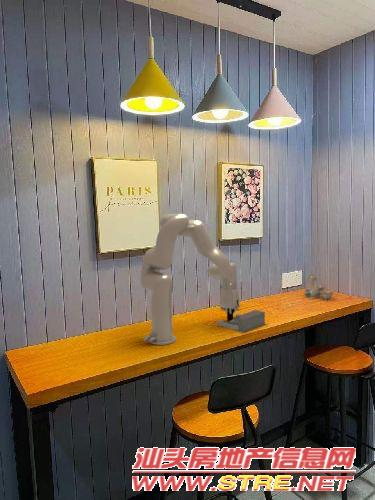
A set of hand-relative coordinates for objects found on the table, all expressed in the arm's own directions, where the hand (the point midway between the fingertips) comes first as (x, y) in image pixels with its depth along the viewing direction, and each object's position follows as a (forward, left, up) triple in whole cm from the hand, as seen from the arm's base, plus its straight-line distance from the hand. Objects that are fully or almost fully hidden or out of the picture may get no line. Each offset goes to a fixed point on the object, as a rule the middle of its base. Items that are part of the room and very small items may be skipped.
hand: (230, 320), depth 196 cm
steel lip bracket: (0, -7, -1) cm, 7 cm away
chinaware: (+82, -7, -2) cm, 83 cm away
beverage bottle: (+20, +18, -1) cm, 27 cm away
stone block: (0, -6, -2) cm, 7 cm away
